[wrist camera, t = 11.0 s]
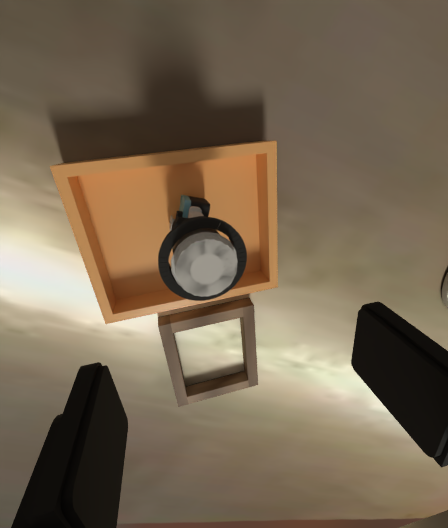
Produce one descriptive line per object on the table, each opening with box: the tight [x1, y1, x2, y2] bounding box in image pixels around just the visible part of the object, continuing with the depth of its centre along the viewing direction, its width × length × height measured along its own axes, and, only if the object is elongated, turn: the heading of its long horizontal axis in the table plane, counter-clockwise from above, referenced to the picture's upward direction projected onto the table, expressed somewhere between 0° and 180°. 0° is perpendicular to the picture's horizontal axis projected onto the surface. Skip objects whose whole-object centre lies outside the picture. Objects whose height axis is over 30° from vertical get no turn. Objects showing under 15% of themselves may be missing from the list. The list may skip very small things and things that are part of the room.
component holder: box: [158, 298, 258, 407], centre depth 31 cm, size 10×12×2 cm
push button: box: [158, 195, 247, 301], centre depth 20 cm, size 7×5×10 cm
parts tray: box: [50, 141, 278, 324], centre depth 23 cm, size 16×13×3 cm
